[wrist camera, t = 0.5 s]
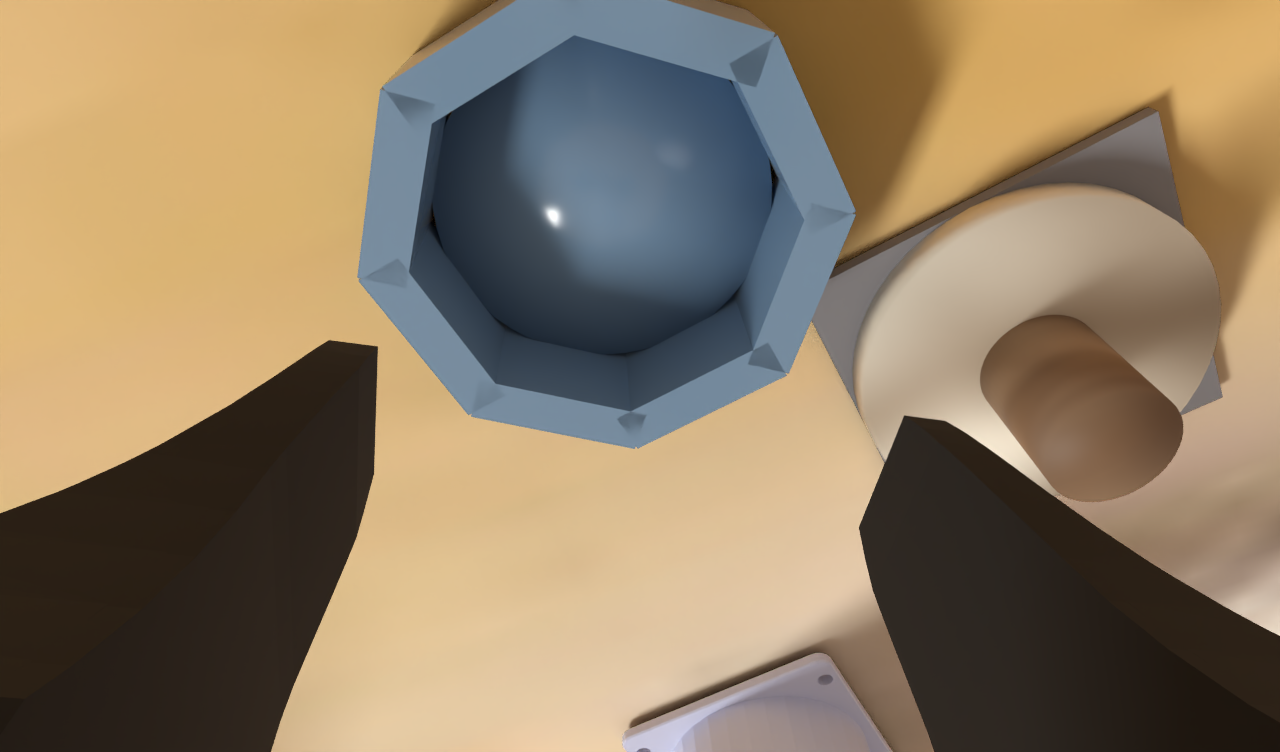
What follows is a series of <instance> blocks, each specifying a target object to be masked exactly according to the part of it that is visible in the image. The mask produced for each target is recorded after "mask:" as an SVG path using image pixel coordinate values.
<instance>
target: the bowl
mask: <svg viewBox="0 0 1280 752" xmlns="http://www.w3.org/2000/svg"><path fill="white" fill-rule="evenodd" d="M729 80H730V81H731V82H730V81H729ZM451 111H452V113H451V115H450V117H449V113H450V112H451ZM769 161H770V162H769ZM770 164H771V166H772V168H773V170H774V172H775V174H776V177H775V180H774V183H773V185H772V180H771V170H770ZM433 211H434V217H435V222H436V226H435V225H434V223H433V222H432V217H433ZM854 212H856V210H855V208H854V206H853V203H852V201H851V199H850V197H849V194H848V192H847V190H846V188H845V185H844V183H843V181H842V179H841V176H840V174H839V172H838V170H837V167H836V165H835V163H834V161H833V158H832V156H831V154H830V152H829V149H828V147H827V145H826V143H825V140H824V138H823V136H822V134H821V131H820V129H819V127H818V125H817V122H816V120H815V118H814V116H813V113H812V111H811V109H810V107H809V104H808V102H807V100H806V98H805V95H804V93H803V91H802V89H801V86H800V84H799V82H798V80H797V77H796V75H795V73H794V71H793V68H792V66H791V64H790V62H789V59H788V57H787V55H786V53H785V50H784V48H783V46H782V44H781V41H780V39H779V37H778V35H777V34H776V33H775V32H773V31H772V30H771V29H770V28H769V27H767V26H766V25H765V24H764V23H763V22H762V21H760V20H759V19H758V18H757V17H756V16H754V15H753V14H752V13H751V12H750V11H748V10H746V9H743V8H739V7H736V6H733V5H730V4H726V3H723V2H720V1H716V0H498V1H496V2H495V3H493V4H492V5H490V6H488V7H487V8H485V9H484V10H482V11H481V12H479V13H478V14H476V15H474V16H473V17H471V18H470V19H468V20H467V21H465V22H464V23H462V24H461V25H459V26H457V27H456V28H454V29H453V30H451V31H450V32H448V33H447V34H445V35H443V36H442V37H440V38H439V39H437V40H436V41H434V42H433V43H431V44H430V45H428V46H426V47H425V48H423V49H422V50H420V51H419V52H417V53H416V54H414V55H412V56H411V57H410V58H409V59H408V60H407V61H406V62H405V63H404V64H403V65H402V66H401V67H400V69H399V70H398V71H397V72H396V73H395V74H394V75H393V76H392V77H391V78H390V79H389V80H388V81H387V82H386V83H385V84H384V85H383V86H382V88H381V89H380V96H379V104H378V112H377V121H376V129H375V137H374V145H373V154H372V162H371V170H370V178H369V186H368V195H367V203H366V211H365V219H364V228H363V236H362V244H361V252H360V261H359V269H358V277H357V278H360V279H359V282H360V283H361V285H362V286H363V287H364V288H365V289H366V291H367V292H368V293H369V294H370V296H371V297H372V298H373V299H374V300H375V302H376V303H377V304H378V305H379V307H380V308H381V309H382V310H383V311H384V313H385V314H386V315H387V316H388V318H389V319H390V320H391V321H392V322H393V324H394V325H395V326H396V327H397V329H398V330H399V331H400V332H401V333H402V335H403V336H404V337H405V338H406V339H407V341H408V342H409V343H410V344H411V346H412V347H413V348H414V349H415V350H416V352H417V353H418V354H419V355H420V357H421V358H422V359H423V360H424V361H425V363H426V364H427V365H428V366H429V368H430V369H431V370H432V371H433V372H434V374H435V375H436V376H437V377H438V379H439V380H440V381H441V382H442V383H443V385H444V386H445V387H446V388H447V390H448V391H449V392H450V393H451V394H452V396H453V397H454V398H455V399H456V400H457V402H458V403H459V404H460V405H461V407H462V408H463V409H464V410H465V411H466V413H467V414H468V415H470V414H472V415H471V417H476V418H481V419H486V420H491V421H496V422H501V423H506V424H511V425H516V426H521V427H526V428H531V429H536V430H542V431H547V432H552V433H557V434H562V435H567V436H572V437H577V438H582V439H587V440H592V441H597V442H602V443H607V444H613V445H618V446H623V447H628V448H633V449H635V447H637V448H640V447H642V446H644V445H646V444H648V443H650V442H652V441H654V440H656V439H658V438H660V437H662V436H664V435H666V434H668V433H670V432H672V431H674V430H676V429H679V428H681V427H683V426H685V425H687V424H689V423H691V422H693V421H695V420H697V419H699V418H701V417H703V416H705V415H707V414H709V413H711V412H713V411H715V410H717V409H719V408H721V407H723V406H725V405H728V404H730V403H732V402H734V401H736V400H738V399H740V398H742V397H744V396H746V395H748V394H750V393H752V392H754V391H756V390H758V389H760V388H762V387H764V386H766V385H768V384H770V383H772V382H774V381H776V380H779V379H781V378H783V377H785V376H787V375H786V373H789V372H790V369H791V367H792V364H793V362H794V360H795V357H796V355H797V353H798V350H799V348H800V346H801V343H802V341H803V339H804V336H805V334H806V332H807V329H808V327H809V324H810V322H811V320H812V317H813V315H814V313H815V310H816V308H817V306H818V303H819V301H820V299H821V296H822V294H823V292H824V289H825V287H826V284H827V282H828V280H829V277H830V275H831V273H832V270H833V268H834V266H835V263H836V261H837V259H838V256H839V254H840V252H841V249H842V247H843V244H844V242H845V240H846V237H847V235H848V233H849V230H850V228H851V226H852V223H853V221H854V219H855V216H856V214H855V213H854ZM436 227H437V228H436Z"/></svg>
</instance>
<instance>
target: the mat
mask: <svg viewBox="0 0 1280 752" xmlns="http://www.w3.org/2000/svg"><path fill="white" fill-rule="evenodd" d="M1066 182H1071V183H1087V184H1095V185H1100V186H1105V187H1110V188H1114V189H1117V190H1120V191H1122V192H1125V193H1128V194H1130V195H1133V196H1135V197H1137V198H1139V199H1140V200H1142V201H1144V202H1146V203H1147V204H1149V205H1151V206H1152V207H1154V208H1156V209H1158V210H1159V211H1161V212H1163V213H1164V214H1166V215H1168V216H1169V217H1171V218H1173V219H1174V220H1176V221H1177V222H1179V223H1180V224H1181V225H1182V226H1183V227H1184V223H1183V218H1182V214H1181V209H1180V205H1179V201H1178V196H1177V192H1176V187H1175V183H1174V178H1173V174H1172V170H1171V165H1170V161H1169V156H1168V152H1167V147H1166V143H1165V138H1164V134H1163V130H1162V125H1161V121H1160V116H1159V112H1158V111H1156V110H1154V109H1152V108H1149V107H1148V108H1146V109H1144V110H1142V111H1140V112H1138V113H1136V114H1134V115H1132V116H1130V117H1128V118H1126V119H1124V120H1122V121H1120V122H1118V123H1116V124H1114V125H1113V126H1111V127H1109V128H1107V129H1105V130H1103V131H1101V132H1099V133H1097V134H1095V135H1093V136H1091V137H1089V138H1087V139H1085V140H1083V141H1081V142H1079V143H1077V144H1075V145H1074V146H1072V147H1070V148H1068V149H1066V150H1064V151H1062V152H1060V153H1058V154H1056V155H1054V156H1052V157H1050V158H1048V159H1046V160H1044V161H1042V162H1040V163H1038V164H1036V165H1035V166H1033V167H1031V168H1029V169H1027V170H1025V171H1023V172H1021V173H1019V174H1017V175H1015V176H1013V177H1011V178H1009V179H1007V180H1005V181H1003V182H1001V183H999V184H997V185H996V186H994V187H992V188H990V189H988V190H986V191H984V192H982V193H980V194H978V195H976V196H974V197H972V198H970V199H968V200H966V201H964V202H962V203H960V204H958V205H957V206H955V207H953V208H951V209H949V210H947V211H945V212H943V213H941V214H939V215H937V216H935V217H933V218H931V219H929V220H927V221H925V222H923V223H921V224H919V225H918V226H916V227H914V228H912V229H910V230H908V231H906V232H904V233H902V234H900V235H898V236H896V237H894V238H892V239H890V240H888V241H886V242H884V243H882V244H880V245H879V246H877V247H875V248H873V249H871V250H869V251H867V252H865V253H863V254H861V255H859V256H857V257H855V258H853V259H851V260H849V261H847V262H845V263H843V264H841V265H840V266H838V267H836V268H834V269H833V270H832V273H831V275H830V277H829V280H828V282H827V284H826V287H825V289H824V292H823V294H822V296H821V299H820V301H819V303H818V306H817V308H816V310H815V313H814V315H813V317H812V322H813V324H814V326H815V328H816V330H817V332H818V334H819V336H820V338H821V340H822V342H823V344H824V346H825V347H826V349H827V351H828V353H829V355H830V357H831V359H832V361H833V363H834V365H835V367H836V369H837V371H838V373H839V375H840V377H841V379H842V381H843V383H844V385H845V386H846V388H847V390H848V392H849V394H850V396H851V398H852V400H853V402H854V404H855V406H856V408H857V410H858V412H859V409H858V407H857V403H856V398H855V394H854V389H853V374H852V368H853V357H854V349H855V345H856V341H857V337H858V333H859V330H860V327H861V324H862V322H863V319H864V317H865V314H866V311H867V309H868V308H869V306H870V304H871V302H872V300H873V298H874V296H875V295H876V293H877V291H878V289H879V288H880V287H881V285H882V284H883V282H884V281H885V280H886V278H887V277H888V275H889V274H890V272H891V271H892V270H893V269H894V268H895V267H896V265H897V264H898V263H899V262H900V261H901V260H902V259H903V258H904V256H905V255H906V254H907V253H908V252H909V251H910V250H911V249H913V248H914V247H915V246H916V245H917V244H918V243H919V242H920V241H921V240H922V239H924V238H925V237H926V236H927V235H928V234H930V233H931V232H932V231H934V230H935V229H937V228H938V227H939V226H941V225H942V224H943V223H945V222H946V221H948V220H949V219H951V218H953V217H954V216H956V215H958V214H960V213H961V212H963V211H965V210H967V209H968V208H970V207H972V206H974V205H977V204H979V203H981V202H983V201H986V200H988V199H990V198H992V197H995V196H998V195H1001V194H1004V193H1008V192H1011V191H1014V190H1017V189H1021V188H1026V187H1031V186H1036V185H1042V184H1052V183H1066ZM1184 228H1185V227H1184ZM1222 397H1223V396H1222V392H1221V387H1220V383H1219V378H1218V374H1217V369H1216V365H1215V360H1214V356H1213V355H1212V358H1211V361H1210V364H1209V366H1208V368H1207V370H1206V372H1205V374H1204V377H1203V379H1202V381H1201V383H1200V385H1199V386H1198V388H1197V389H1196V391H1195V392H1194V394H1193V396H1192V397H1191V399H1190V400H1189V402H1188V403H1187V405H1186V406H1185V407H1184V408H1183V410H1182V411H1181V412H1180V414H1181V415H1183V414H1185V413H1187V412H1190V411H1192V410H1194V409H1196V408H1199V407H1201V406H1203V405H1206V404H1208V403H1210V402H1213V401H1215V400H1217V399H1220V398H1222ZM859 414H860V412H859ZM860 416H861V414H860ZM861 418H862V417H861ZM862 420H863V419H862ZM863 422H864V421H863ZM877 449H878V448H877ZM878 451H879V450H878ZM879 453H880V451H879ZM880 455H881V453H880ZM881 457H882V459H883V461H884V463H885V462H886V460H885V459H884V458H883V456H882V455H881Z"/></svg>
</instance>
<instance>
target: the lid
mask: <svg viewBox="0 0 1280 752" xmlns="http://www.w3.org/2000/svg"><path fill="white" fill-rule="evenodd" d="M1220 319H1221V299H1220V290H1219V284H1218V280H1217V277H1216V274H1215V271H1214V267H1213V265H1212V263H1211V261H1210V259H1209V257H1208V255H1207V254H1206V252H1205V250H1204V248H1203V247H1202V246H1201V245H1200V243H1199V242H1198V241H1197V240H1196V238H1195V237H1194V236H1193V235H1192V233H1190V232H1189V231H1188V230H1187V229H1186V228H1184V227H1183V226H1182V225H1181V224H1180V223H1179V222H1177V221H1176V220H1174V219H1173V218H1171V217H1169V216H1168V215H1166V214H1164V213H1163V212H1161V211H1159V210H1158V209H1156V208H1154V207H1152V206H1151V205H1149V204H1147V203H1146V202H1144V201H1142V200H1140V199H1139V198H1137V197H1135V196H1133V195H1130V194H1128V193H1125V192H1122V191H1120V190H1117V189H1114V188H1110V187H1105V186H1100V185H1095V184H1087V183H1071V182H1066V183H1052V184H1042V185H1036V186H1031V187H1026V188H1021V189H1017V190H1014V191H1011V192H1008V193H1004V194H1001V195H998V196H995V197H992V198H990V199H988V200H986V201H983V202H981V203H979V204H977V205H974V206H972V207H970V208H968V209H967V210H965V211H963V212H961V213H960V214H958V215H956V216H954V217H953V218H951V219H949V220H948V221H946V222H945V223H943V224H942V225H941V226H939V227H938V228H937V229H935V230H934V231H932V232H931V233H930V234H928V235H927V236H926V237H925V238H924V239H922V240H921V241H920V242H919V243H918V244H917V245H916V246H915V247H914V248H913V249H911V250H910V251H909V252H908V253H907V254H906V255H905V256H904V258H903V259H902V260H901V261H900V262H899V263H898V264H897V265H896V267H895V268H894V269H893V270H892V271H891V272H890V274H889V275H888V277H887V278H886V280H885V281H884V282H883V284H882V285H881V287H880V288H879V289H878V291H877V293H876V295H875V296H874V298H873V300H872V302H871V304H870V306H869V308H868V309H867V311H866V314H865V317H864V319H863V322H862V324H861V327H860V330H859V333H858V337H857V341H856V345H855V349H854V357H853V368H852V374H853V389H854V394H855V398H856V403H857V407H858V409H859V412H860V414H861V417H862V419H863V421H864V424H865V426H866V428H867V430H868V431H869V433H870V435H871V437H872V439H873V441H874V443H875V445H876V447H877V448H878V450H879V451H880V453H881V455H882V456H883V458H884V459H885V460H886V459H887V457H888V454H889V452H890V449H891V447H892V444H893V442H894V439H895V437H896V434H897V432H898V429H899V427H900V424H901V422H902V419H903V417H904V415H905V416H913V417H920V418H928V419H936V420H943V421H946V422H948V423H950V424H952V425H953V426H955V427H957V428H959V429H960V430H962V431H963V432H965V433H967V434H968V435H970V436H971V437H973V438H974V439H976V440H977V441H978V442H980V443H981V444H983V445H984V446H986V447H987V448H988V449H990V450H991V451H993V452H994V453H995V454H997V455H998V456H1000V457H1001V458H1002V459H1004V460H1005V461H1006V462H1008V463H1009V464H1011V465H1012V466H1013V467H1015V468H1016V469H1017V470H1019V471H1020V472H1021V473H1023V474H1024V475H1025V476H1027V477H1028V478H1030V479H1031V480H1032V481H1034V482H1035V483H1036V484H1038V485H1039V486H1040V487H1042V488H1043V489H1045V490H1046V491H1047V492H1049V493H1050V494H1051V495H1053V496H1057V495H1060V494H1061V495H1063V496H1065V497H1067V498H1070V499H1073V500H1077V501H1083V502H1099V501H1106V500H1111V499H1115V498H1119V497H1121V496H1124V495H1127V494H1129V493H1131V492H1133V491H1136V490H1137V489H1139V488H1141V487H1143V486H1144V485H1146V484H1147V483H1149V482H1150V481H1152V480H1153V479H1154V478H1155V477H1156V476H1158V475H1159V474H1160V473H1161V472H1162V471H1163V470H1164V469H1165V468H1166V467H1167V465H1168V464H1169V463H1170V462H1171V460H1172V459H1173V457H1174V456H1175V454H1176V452H1177V450H1178V448H1179V446H1180V443H1181V440H1182V435H1183V421H1182V417H1181V414H1180V412H1181V411H1182V410H1183V408H1184V407H1185V406H1186V405H1187V403H1188V402H1189V400H1190V399H1191V397H1192V396H1193V394H1194V392H1195V391H1196V389H1197V388H1198V386H1199V385H1200V383H1201V381H1202V379H1203V377H1204V374H1205V372H1206V370H1207V368H1208V366H1209V364H1210V361H1211V358H1212V355H1213V353H1214V350H1215V347H1216V343H1217V338H1218V333H1219V328H1220Z"/></svg>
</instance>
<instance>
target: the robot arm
mask: <svg viewBox="0 0 1280 752" xmlns="http://www.w3.org/2000/svg"><path fill="white" fill-rule="evenodd" d="M377 356H378V347H377V346H369V345H361V344H354V343H346V342H338V341H331V340H329V341H327V342H325V343H324V344H322V345H321V346H319V347H317V348H316V349H314V350H313V351H311V352H310V353H308V354H307V355H305V356H304V357H302V358H301V359H300V360H298V361H297V362H295V363H294V364H292V365H291V366H289V367H288V368H286V369H285V370H283V371H282V372H280V373H279V374H277V375H276V376H274V377H273V378H271V379H270V380H268V381H267V382H265V383H263V384H262V385H260V386H259V387H257V388H256V389H254V390H253V391H251V392H249V393H248V394H246V395H245V396H243V397H242V398H240V399H239V400H237V401H235V402H234V403H232V404H231V405H229V406H227V407H226V408H224V409H222V410H220V411H219V412H217V413H215V414H213V415H212V416H210V417H208V418H206V419H205V420H203V421H201V422H199V423H198V424H196V425H194V426H192V427H191V428H189V429H187V430H185V431H184V432H182V433H180V434H178V435H176V436H175V437H173V438H171V439H169V440H168V441H166V442H164V443H162V444H160V445H159V446H157V447H155V448H153V449H151V450H149V451H147V452H145V453H143V454H141V455H139V456H137V457H135V458H133V459H131V460H129V461H126V462H124V463H122V464H120V465H118V466H116V467H114V468H111V469H109V470H107V471H105V472H102V473H100V474H98V475H96V476H94V477H91V478H89V479H87V480H85V481H82V482H80V483H78V484H76V485H73V486H71V487H68V488H66V489H64V490H61V491H59V492H56V493H54V494H51V495H48V496H46V497H43V498H40V499H38V500H35V501H32V502H30V503H27V504H24V505H21V506H19V507H16V508H13V509H11V510H8V511H5V512H3V513H0V752H271V749H272V746H273V743H274V740H275V737H276V733H277V730H278V727H279V724H280V721H281V718H282V715H283V712H284V710H285V707H286V704H287V702H288V699H289V696H290V694H291V691H292V688H293V686H294V683H295V681H296V678H297V676H298V674H299V671H300V669H301V667H302V664H303V662H304V660H305V657H306V655H307V653H308V650H309V648H310V646H311V644H312V641H313V639H314V637H315V634H316V632H317V630H318V627H319V625H320V623H321V620H322V618H323V616H324V613H325V611H326V609H327V606H328V604H329V602H330V599H331V597H332V595H333V592H334V590H335V588H336V585H337V583H338V580H339V578H340V576H341V573H342V571H343V569H344V566H345V564H346V562H347V559H348V557H349V554H350V552H351V550H352V547H353V545H354V542H355V540H356V537H357V533H358V530H359V526H360V523H361V519H362V516H363V512H364V509H365V505H366V501H367V498H368V494H369V490H370V487H371V483H372V479H373V475H374V454H375V421H376V388H377ZM859 530H860V535H861V540H862V545H863V550H864V555H865V560H866V564H867V568H868V572H869V576H870V580H871V584H872V588H873V592H874V594H875V597H876V600H877V603H878V606H879V608H880V611H881V613H882V616H883V619H884V621H885V624H886V627H887V629H888V632H889V635H890V637H891V640H892V642H893V645H894V647H895V650H896V653H897V655H898V658H899V660H900V663H901V665H902V668H903V670H904V673H905V675H906V678H907V680H908V683H909V686H910V688H911V691H912V693H913V696H914V698H915V701H916V703H917V706H918V709H919V711H920V714H921V716H922V719H923V721H924V724H925V726H926V729H927V731H928V734H929V737H930V740H931V743H932V746H933V749H934V752H1280V636H1279V635H1277V634H1275V633H1273V632H1271V631H1269V630H1267V629H1265V628H1263V627H1261V626H1259V625H1257V624H1255V623H1253V622H1252V621H1250V620H1248V619H1246V618H1244V617H1242V616H1240V615H1239V614H1237V613H1235V612H1233V611H1231V610H1229V609H1228V608H1226V607H1224V606H1222V605H1221V604H1219V603H1217V602H1216V601H1214V600H1212V599H1210V598H1209V597H1207V596H1205V595H1204V594H1202V593H1200V592H1198V591H1197V590H1195V589H1193V588H1192V587H1190V586H1188V585H1186V584H1185V583H1183V582H1181V581H1179V580H1178V579H1176V578H1174V577H1173V576H1171V575H1169V574H1168V573H1166V572H1165V571H1163V570H1161V569H1160V568H1158V567H1157V566H1155V565H1153V564H1152V563H1150V562H1149V561H1147V560H1146V559H1144V558H1142V557H1141V556H1139V555H1138V554H1136V553H1135V552H1133V551H1132V550H1130V549H1129V548H1127V547H1126V546H1124V545H1123V544H1121V543H1120V542H1118V541H1117V540H1115V539H1114V538H1112V537H1111V536H1109V535H1108V534H1106V533H1105V532H1103V531H1102V530H1101V529H1099V528H1098V527H1096V526H1095V525H1093V524H1092V523H1091V522H1089V521H1088V520H1086V519H1085V518H1083V517H1082V516H1081V515H1079V514H1078V513H1076V512H1075V511H1074V510H1072V509H1071V508H1069V507H1068V506H1067V505H1065V504H1064V503H1062V502H1061V501H1060V500H1058V499H1057V498H1056V497H1054V496H1053V495H1051V494H1050V493H1049V492H1047V491H1046V490H1045V489H1043V488H1042V487H1040V486H1039V485H1038V484H1036V483H1035V482H1034V481H1032V480H1031V479H1030V478H1028V477H1027V476H1025V475H1024V474H1023V473H1021V472H1020V471H1019V470H1017V469H1016V468H1015V467H1013V466H1012V465H1011V464H1009V463H1008V462H1006V461H1005V460H1004V459H1002V458H1001V457H1000V456H998V455H997V454H995V453H994V452H993V451H991V450H990V449H988V448H987V447H986V446H984V445H983V444H981V443H980V442H978V441H977V440H976V439H974V438H973V437H971V436H970V435H968V434H967V433H965V432H963V431H962V430H960V429H959V428H957V427H955V426H953V425H952V424H950V423H948V422H946V421H943V420H936V419H928V418H920V417H913V416H905V415H904V417H903V419H902V422H901V424H900V427H899V429H898V432H897V434H896V437H895V439H894V442H893V444H892V447H891V449H890V452H889V454H888V457H887V459H886V462H885V464H884V467H883V469H882V472H881V474H880V477H879V479H878V482H877V484H876V486H875V489H874V491H873V494H872V496H871V499H870V501H869V504H868V506H867V509H866V511H865V514H864V516H863V519H862V521H861V524H860V526H859ZM622 744H623V748H624V749H625V750H626V751H627V752H893V751H892V750H891V748H890V747H889V745H888V744H887V742H886V741H885V739H884V738H883V736H882V735H881V733H880V732H879V730H878V728H877V727H876V725H875V724H874V722H873V721H872V719H871V718H870V716H869V715H868V713H867V712H866V710H865V709H864V707H863V706H862V704H861V703H860V701H859V700H858V698H857V697H856V695H855V694H854V692H853V691H852V689H851V688H850V686H849V685H848V683H847V682H846V680H845V679H844V677H843V676H842V674H841V673H840V671H839V670H838V668H837V667H836V665H835V664H834V662H833V660H832V659H831V657H829V656H828V655H827V654H824V653H814V654H810V655H808V656H805V657H803V658H801V659H798V660H796V661H793V662H791V663H788V664H786V665H783V666H781V667H779V668H776V669H774V670H771V671H769V672H766V673H764V674H762V675H759V676H757V677H754V678H752V679H749V680H747V681H744V682H742V683H740V684H737V685H735V686H732V687H730V688H727V689H725V690H723V691H720V692H718V693H715V694H713V695H710V696H708V697H705V698H703V699H701V700H698V701H696V702H693V703H691V704H688V705H686V706H684V707H681V708H679V709H676V710H674V711H671V712H669V713H666V714H664V715H662V716H659V717H657V718H654V719H652V720H649V721H647V722H645V723H642V724H640V725H637V726H635V727H632V728H630V729H628V730H627V731H625V732H624V734H623V736H622Z"/></svg>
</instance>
